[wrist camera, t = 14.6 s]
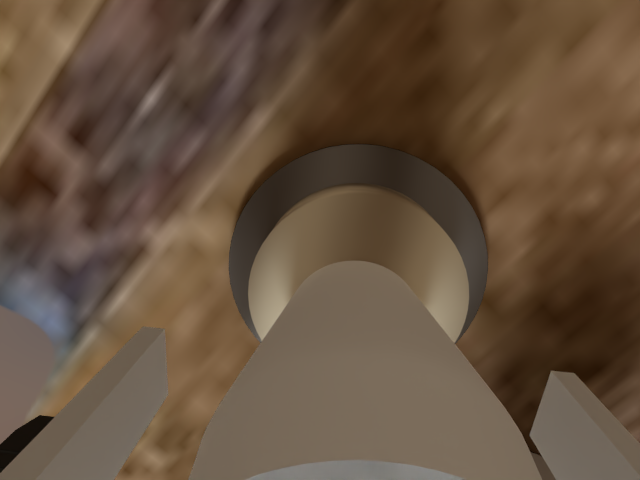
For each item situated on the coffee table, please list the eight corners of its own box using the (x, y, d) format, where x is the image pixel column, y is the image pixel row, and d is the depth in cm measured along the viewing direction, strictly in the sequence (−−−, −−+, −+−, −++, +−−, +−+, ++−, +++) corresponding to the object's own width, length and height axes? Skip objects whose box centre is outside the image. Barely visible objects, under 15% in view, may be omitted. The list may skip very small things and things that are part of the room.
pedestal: (222, 352, 25) (199, 393, 21) (247, 121, 20) (223, 120, 16) (442, 395, 24) (460, 445, 21) (519, 171, 20) (560, 183, 16)
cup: (231, 321, 19) (63, 610, 8) (350, 196, 17) (357, 352, 5) (356, 420, 21) (368, 789, 9) (482, 318, 18) (712, 648, 7)
